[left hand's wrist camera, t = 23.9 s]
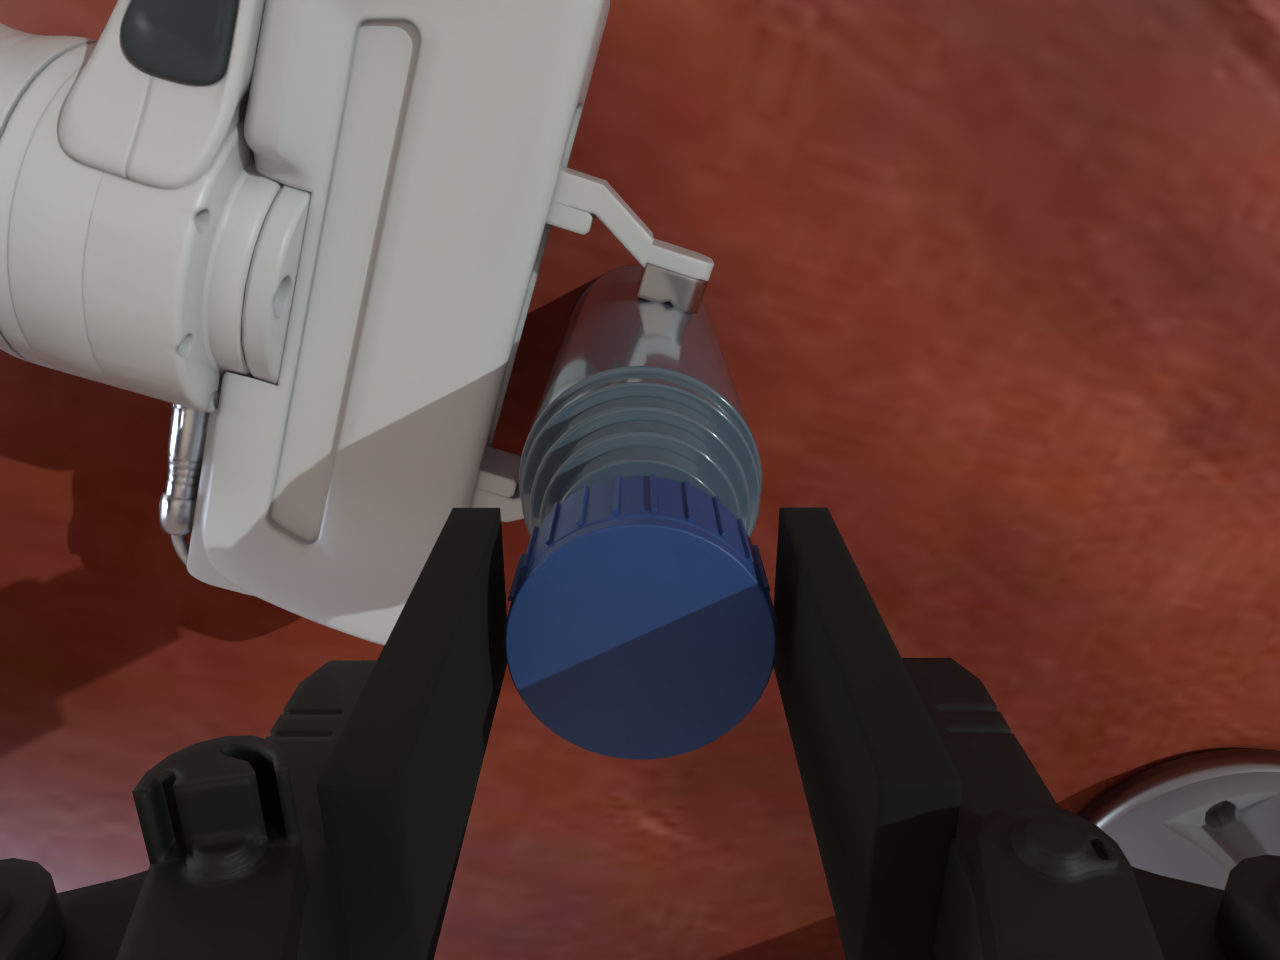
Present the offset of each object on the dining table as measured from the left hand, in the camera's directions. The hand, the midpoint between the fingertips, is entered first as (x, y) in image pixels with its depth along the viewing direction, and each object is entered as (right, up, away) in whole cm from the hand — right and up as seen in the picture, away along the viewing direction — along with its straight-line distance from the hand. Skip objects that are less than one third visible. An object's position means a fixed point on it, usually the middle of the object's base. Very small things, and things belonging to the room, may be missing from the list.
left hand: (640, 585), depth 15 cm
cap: (0, -1, -2) cm, 2 cm away
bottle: (0, +7, +18) cm, 19 cm away
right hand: (+1, +4, +12) cm, 13 cm away
